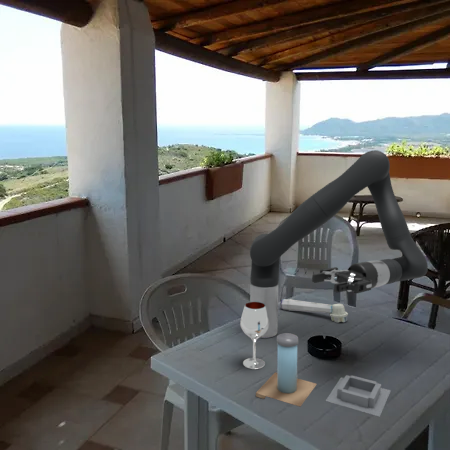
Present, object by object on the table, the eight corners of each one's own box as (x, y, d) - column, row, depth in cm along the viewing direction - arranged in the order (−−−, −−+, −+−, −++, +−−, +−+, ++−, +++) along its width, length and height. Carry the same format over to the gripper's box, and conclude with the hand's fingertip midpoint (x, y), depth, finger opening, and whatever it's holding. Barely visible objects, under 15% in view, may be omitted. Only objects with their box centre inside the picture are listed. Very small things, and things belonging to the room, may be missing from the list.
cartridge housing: (325, 404, 115) (326, 391, 115) (340, 380, 127) (341, 368, 126) (379, 420, 109) (380, 406, 108) (390, 394, 120) (391, 381, 119)
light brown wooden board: (255, 396, 119) (255, 392, 119) (275, 375, 129) (275, 372, 129) (300, 410, 113) (300, 406, 113) (316, 387, 123) (316, 383, 123)
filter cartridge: (273, 390, 120) (273, 339, 117) (281, 380, 125) (281, 331, 122) (293, 395, 117) (293, 344, 115) (300, 385, 122) (301, 335, 119)
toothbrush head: (284, 296, 180) (348, 300, 166) (286, 313, 181) (350, 318, 167) (278, 301, 176) (343, 305, 162) (280, 318, 176) (345, 323, 163)
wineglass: (271, 359, 138) (272, 302, 135) (264, 372, 131) (265, 312, 127) (244, 355, 141) (245, 298, 137) (236, 368, 133) (236, 308, 130)
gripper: (350, 255, 134) (306, 262, 126) (390, 268, 122) (344, 277, 114) (349, 280, 136) (305, 289, 128) (387, 295, 124) (342, 306, 116)
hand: (323, 283), depth 121 cm, fingers open, 8 cm apart
